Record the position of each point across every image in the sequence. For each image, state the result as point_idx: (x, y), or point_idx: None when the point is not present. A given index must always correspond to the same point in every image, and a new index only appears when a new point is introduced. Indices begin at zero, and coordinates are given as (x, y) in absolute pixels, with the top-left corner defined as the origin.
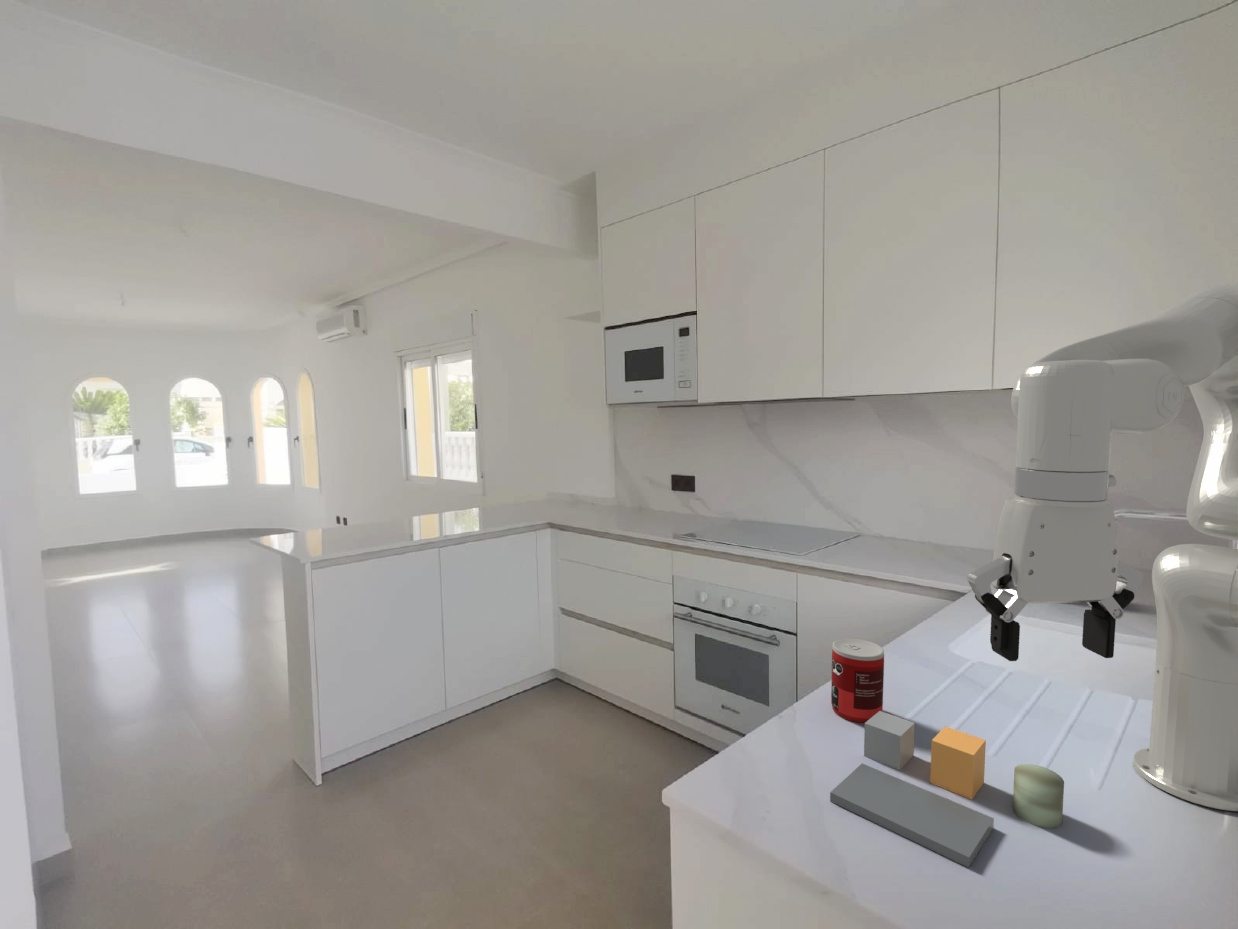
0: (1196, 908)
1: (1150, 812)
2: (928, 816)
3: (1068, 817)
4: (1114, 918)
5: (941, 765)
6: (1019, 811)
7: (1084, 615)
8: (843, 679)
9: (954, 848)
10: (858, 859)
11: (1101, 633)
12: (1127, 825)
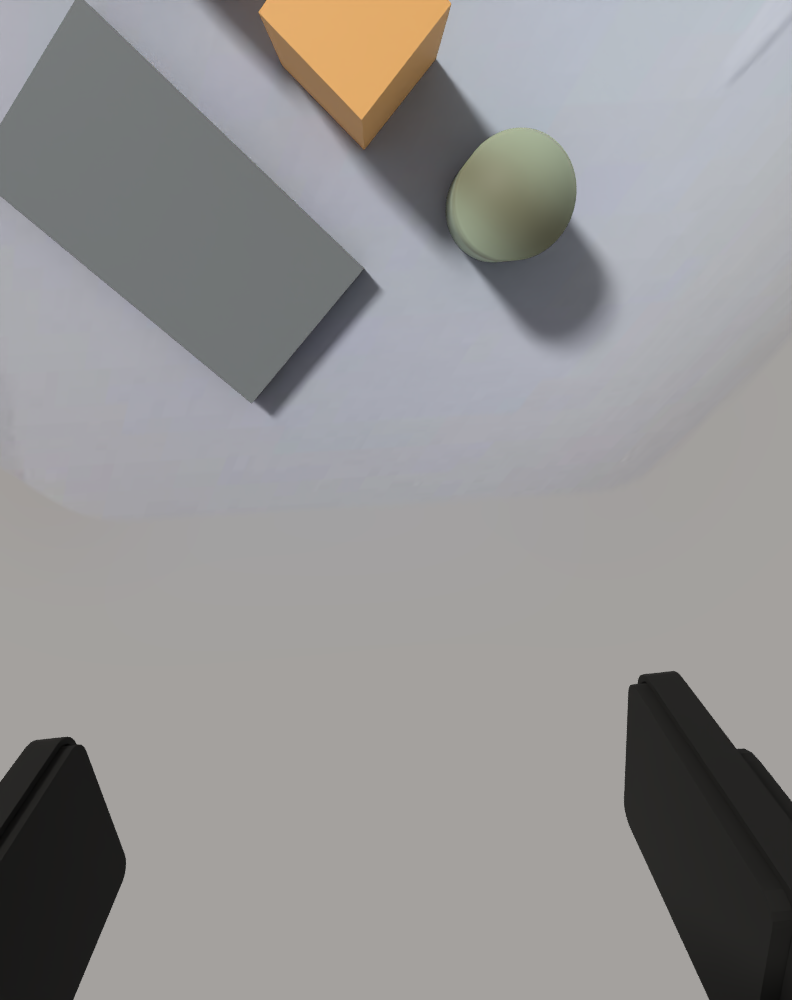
0: (603, 470)
1: (774, 186)
2: (209, 269)
3: None
4: (450, 499)
5: (296, 67)
6: (448, 220)
7: (751, 875)
8: None
9: (231, 378)
10: (40, 386)
11: (689, 914)
12: (676, 242)
